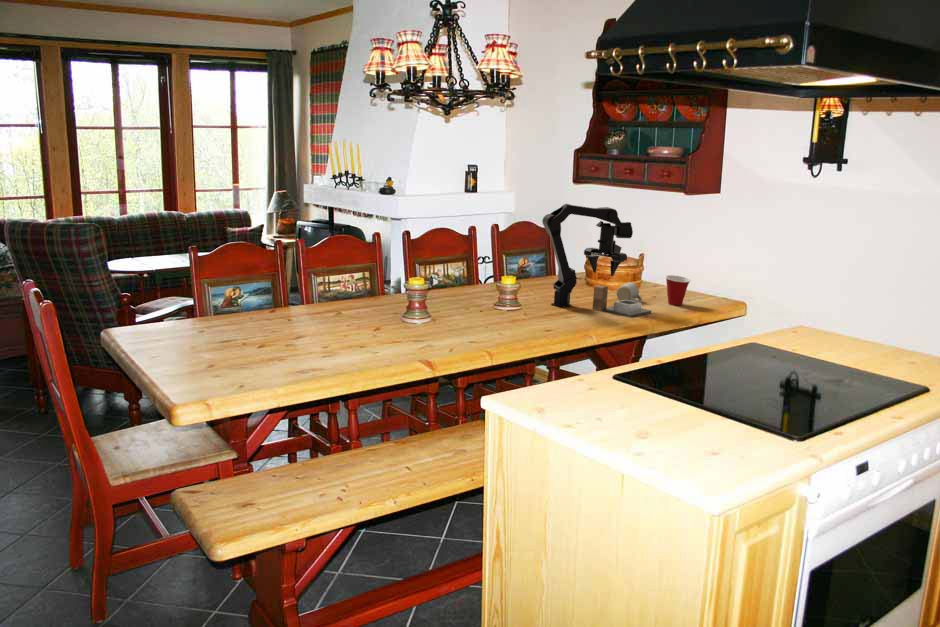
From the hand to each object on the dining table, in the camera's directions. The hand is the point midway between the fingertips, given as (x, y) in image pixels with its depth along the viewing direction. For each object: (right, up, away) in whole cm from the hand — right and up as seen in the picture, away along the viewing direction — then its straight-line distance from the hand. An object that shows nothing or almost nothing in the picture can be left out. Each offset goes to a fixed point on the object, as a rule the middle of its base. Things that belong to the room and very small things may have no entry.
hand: (603, 274), depth 326 cm
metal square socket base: (+9, -16, -8) cm, 20 cm away
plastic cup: (+33, -13, +9) cm, 37 cm away
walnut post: (-3, -15, -6) cm, 16 cm away
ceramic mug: (+14, -11, +13) cm, 22 cm away
